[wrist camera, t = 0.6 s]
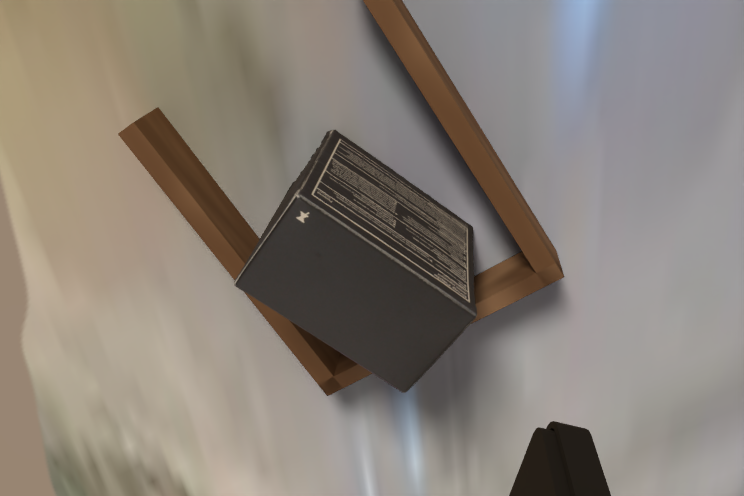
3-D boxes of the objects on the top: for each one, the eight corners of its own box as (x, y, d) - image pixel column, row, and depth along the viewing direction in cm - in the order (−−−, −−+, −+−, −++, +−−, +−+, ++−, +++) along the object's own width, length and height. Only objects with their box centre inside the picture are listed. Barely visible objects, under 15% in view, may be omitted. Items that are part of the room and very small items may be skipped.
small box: (274, 208, 44) (224, 288, 34) (332, 124, 41) (294, 185, 32) (413, 301, 45) (402, 402, 36) (477, 226, 43) (483, 313, 33)
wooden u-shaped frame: (371, -49, 37) (363, -46, 34) (556, 250, 43) (564, 277, 40) (143, 118, 42) (117, 133, 39) (335, 364, 48) (327, 395, 45)
